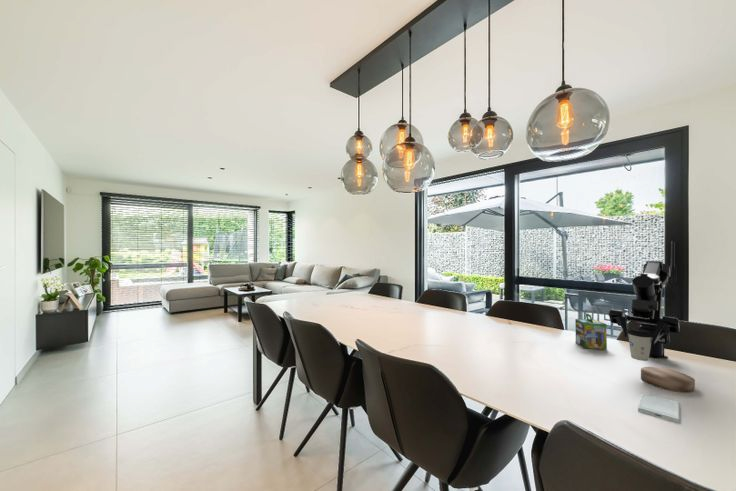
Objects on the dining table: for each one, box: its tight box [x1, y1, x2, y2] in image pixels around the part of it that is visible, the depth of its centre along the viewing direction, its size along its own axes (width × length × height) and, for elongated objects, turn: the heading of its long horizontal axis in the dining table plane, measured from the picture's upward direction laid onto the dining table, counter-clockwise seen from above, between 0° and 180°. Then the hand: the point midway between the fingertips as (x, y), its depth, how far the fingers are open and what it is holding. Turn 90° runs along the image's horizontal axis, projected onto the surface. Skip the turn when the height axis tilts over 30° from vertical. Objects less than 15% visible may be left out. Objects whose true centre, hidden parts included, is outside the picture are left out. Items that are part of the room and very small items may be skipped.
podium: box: [640, 366, 696, 393], centre depth 103 cm, size 13×13×3 cm
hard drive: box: [637, 392, 680, 424], centre depth 87 cm, size 2×8×12 cm
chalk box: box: [575, 312, 608, 350], centre depth 141 cm, size 9×9×15 cm
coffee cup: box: [627, 327, 653, 362], centre depth 108 cm, size 7×7×10 cm
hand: (639, 340), depth 107 cm, fingers closed on coffee cup, 7 cm apart
